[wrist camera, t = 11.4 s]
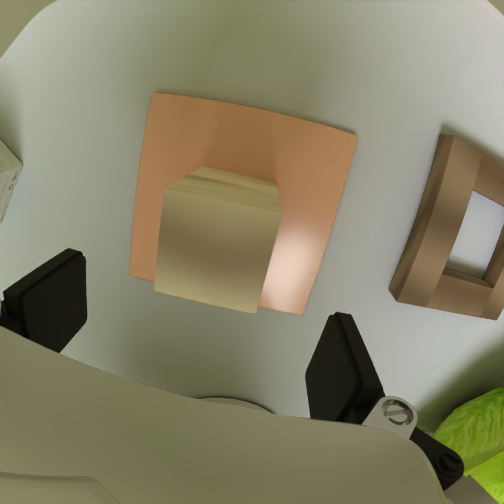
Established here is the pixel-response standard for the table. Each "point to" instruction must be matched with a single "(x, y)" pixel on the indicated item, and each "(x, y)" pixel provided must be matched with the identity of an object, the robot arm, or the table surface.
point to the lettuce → (479, 439)
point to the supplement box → (7, 176)
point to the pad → (251, 164)
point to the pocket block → (452, 236)
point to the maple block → (217, 238)
